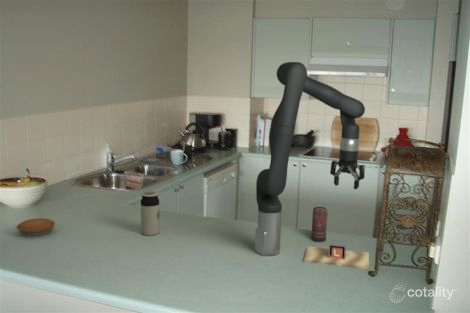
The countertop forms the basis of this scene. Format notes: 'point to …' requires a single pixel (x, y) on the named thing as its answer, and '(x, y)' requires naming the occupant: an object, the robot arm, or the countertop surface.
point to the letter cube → (337, 252)
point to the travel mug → (150, 213)
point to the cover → (337, 243)
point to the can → (319, 224)
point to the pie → (36, 227)
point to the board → (350, 260)
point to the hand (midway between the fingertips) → (346, 187)
